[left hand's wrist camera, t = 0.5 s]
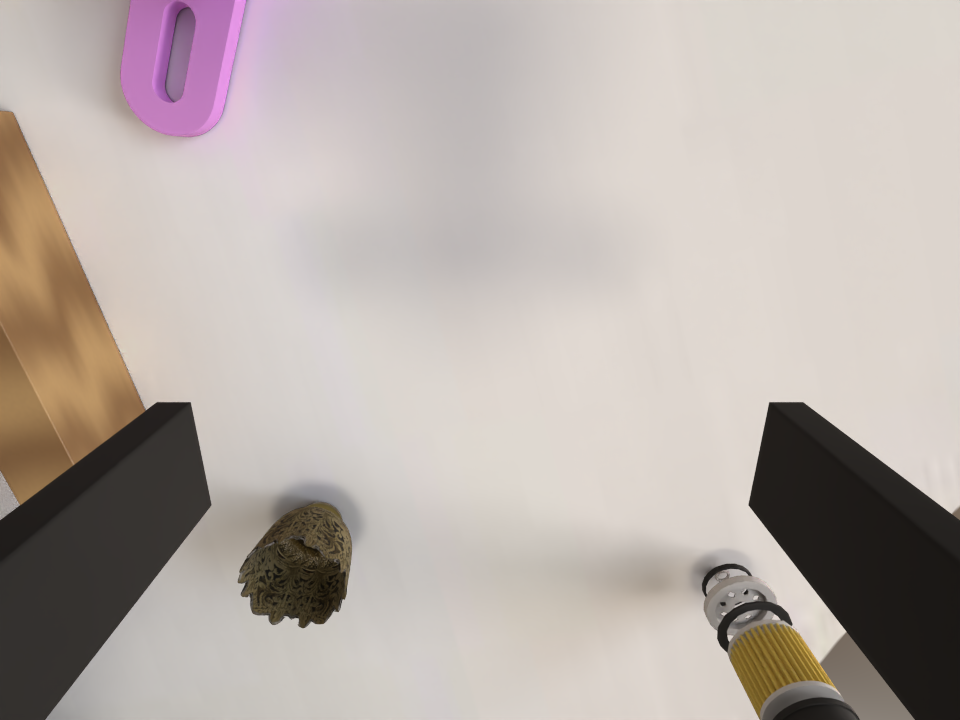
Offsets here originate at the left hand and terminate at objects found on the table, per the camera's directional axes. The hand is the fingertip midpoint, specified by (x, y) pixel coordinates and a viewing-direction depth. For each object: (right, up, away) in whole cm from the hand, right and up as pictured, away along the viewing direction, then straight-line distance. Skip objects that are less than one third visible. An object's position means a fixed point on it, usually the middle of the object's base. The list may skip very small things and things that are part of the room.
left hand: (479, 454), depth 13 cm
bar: (-30, +6, +27) cm, 40 cm away
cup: (-13, -11, +33) cm, 37 cm away
